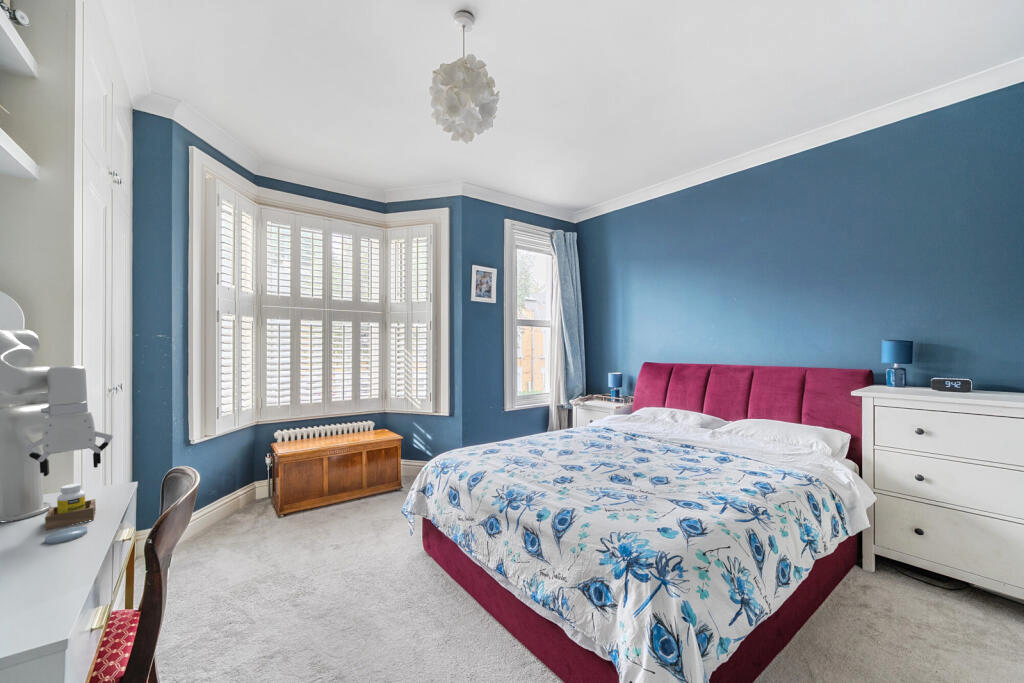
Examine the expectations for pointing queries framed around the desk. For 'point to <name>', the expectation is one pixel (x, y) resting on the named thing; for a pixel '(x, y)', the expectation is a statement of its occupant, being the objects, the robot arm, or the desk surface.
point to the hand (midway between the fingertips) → (71, 470)
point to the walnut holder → (69, 516)
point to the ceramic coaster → (65, 535)
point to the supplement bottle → (71, 498)
